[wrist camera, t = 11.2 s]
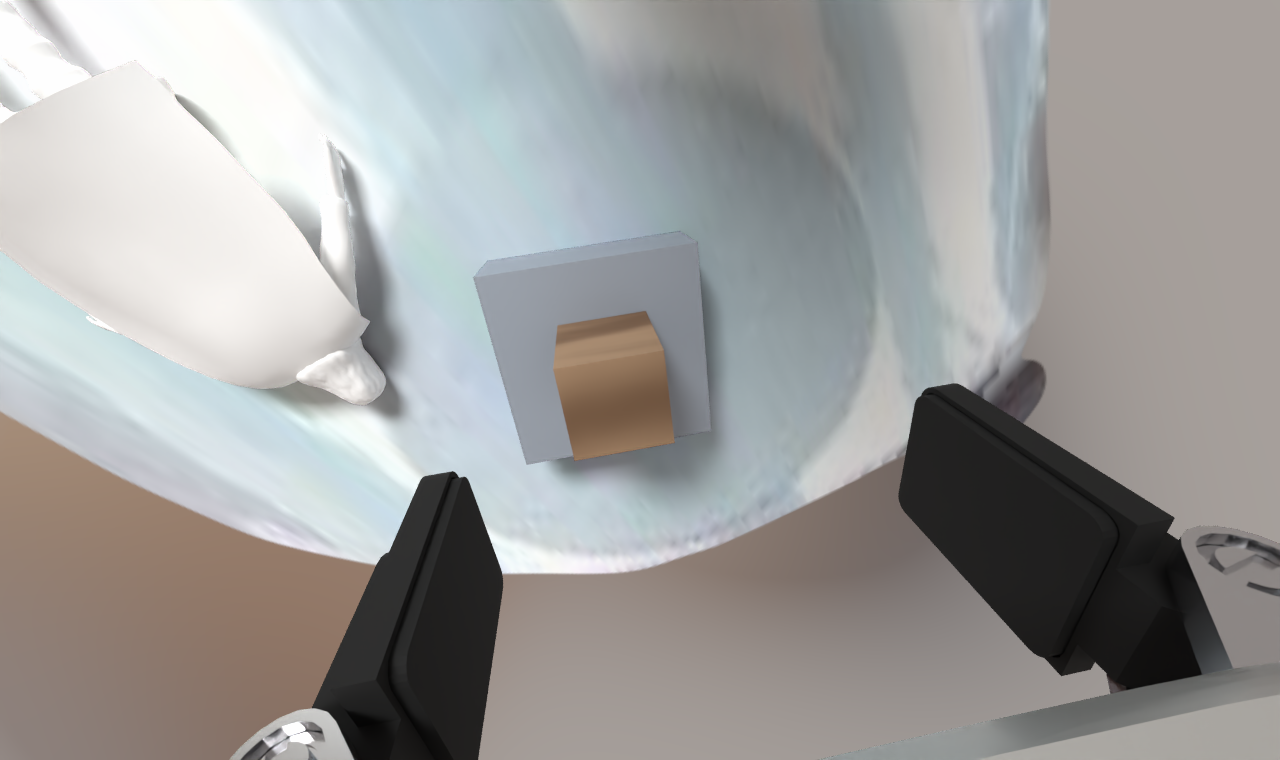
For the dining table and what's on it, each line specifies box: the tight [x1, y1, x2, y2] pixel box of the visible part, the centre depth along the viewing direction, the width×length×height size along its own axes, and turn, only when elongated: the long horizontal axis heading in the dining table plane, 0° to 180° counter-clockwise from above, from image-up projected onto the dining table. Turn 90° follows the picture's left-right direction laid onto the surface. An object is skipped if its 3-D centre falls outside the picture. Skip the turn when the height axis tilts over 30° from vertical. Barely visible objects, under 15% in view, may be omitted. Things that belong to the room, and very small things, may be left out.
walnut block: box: [553, 311, 675, 461], centre depth 25 cm, size 5×5×6 cm
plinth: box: [473, 231, 711, 465], centre depth 30 cm, size 12×12×5 cm
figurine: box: [0, 0, 386, 405], centre depth 22 cm, size 17×9×25 cm
